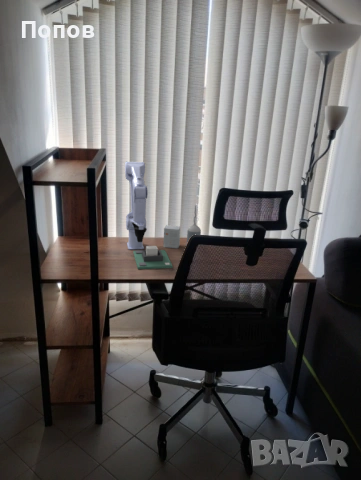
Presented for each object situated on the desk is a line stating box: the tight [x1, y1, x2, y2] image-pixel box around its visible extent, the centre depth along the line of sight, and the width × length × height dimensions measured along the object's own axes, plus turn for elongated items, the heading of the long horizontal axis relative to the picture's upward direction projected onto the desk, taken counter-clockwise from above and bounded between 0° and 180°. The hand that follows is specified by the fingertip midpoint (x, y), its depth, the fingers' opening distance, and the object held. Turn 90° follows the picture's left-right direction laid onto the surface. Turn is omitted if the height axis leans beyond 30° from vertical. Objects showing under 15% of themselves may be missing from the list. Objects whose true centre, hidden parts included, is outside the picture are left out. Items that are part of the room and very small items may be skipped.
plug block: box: [145, 245, 159, 256], centre depth 188 cm, size 4×5×6 cm
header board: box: [132, 249, 174, 270], centre depth 188 cm, size 20×16×4 cm
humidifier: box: [185, 204, 202, 247], centre depth 197 cm, size 8×8×25 cm
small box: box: [162, 224, 181, 249], centre depth 206 cm, size 8×6×10 cm
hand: (138, 239), depth 189 cm, fingers open, 7 cm apart
